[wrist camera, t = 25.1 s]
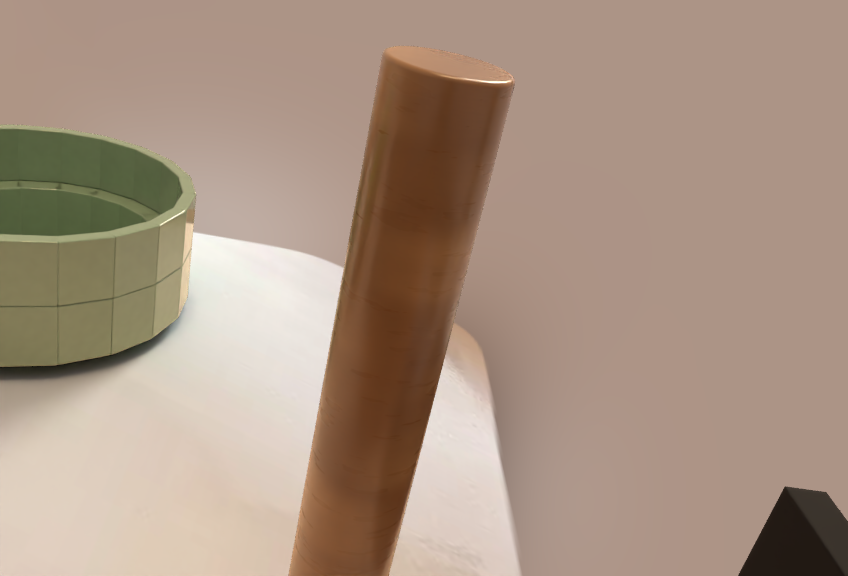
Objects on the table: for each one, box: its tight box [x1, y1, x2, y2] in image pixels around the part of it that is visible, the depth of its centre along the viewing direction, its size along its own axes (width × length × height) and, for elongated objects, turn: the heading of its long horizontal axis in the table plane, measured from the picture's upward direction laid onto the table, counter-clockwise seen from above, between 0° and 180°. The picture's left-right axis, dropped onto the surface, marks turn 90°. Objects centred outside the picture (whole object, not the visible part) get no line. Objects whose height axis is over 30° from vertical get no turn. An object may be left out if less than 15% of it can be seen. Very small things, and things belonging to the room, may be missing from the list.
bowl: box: [0, 125, 196, 367], centre depth 35 cm, size 13×13×6 cm
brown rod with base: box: [288, 46, 515, 576], centre depth 17 cm, size 5×5×18 cm
